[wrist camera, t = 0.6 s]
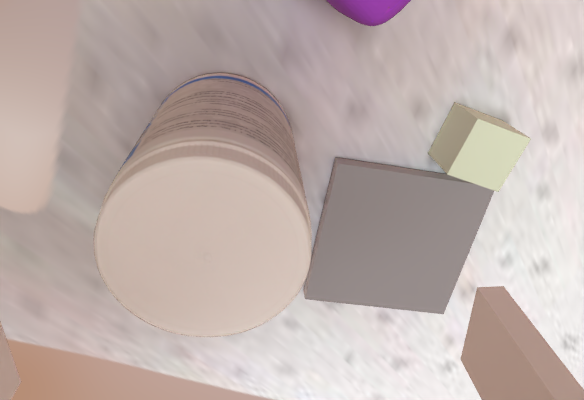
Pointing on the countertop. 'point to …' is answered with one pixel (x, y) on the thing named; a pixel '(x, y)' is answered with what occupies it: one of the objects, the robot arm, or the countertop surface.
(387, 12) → the toy camera
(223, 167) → the supplement tub
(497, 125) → the pale green cube
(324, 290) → the slate coaster
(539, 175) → the countertop surface
